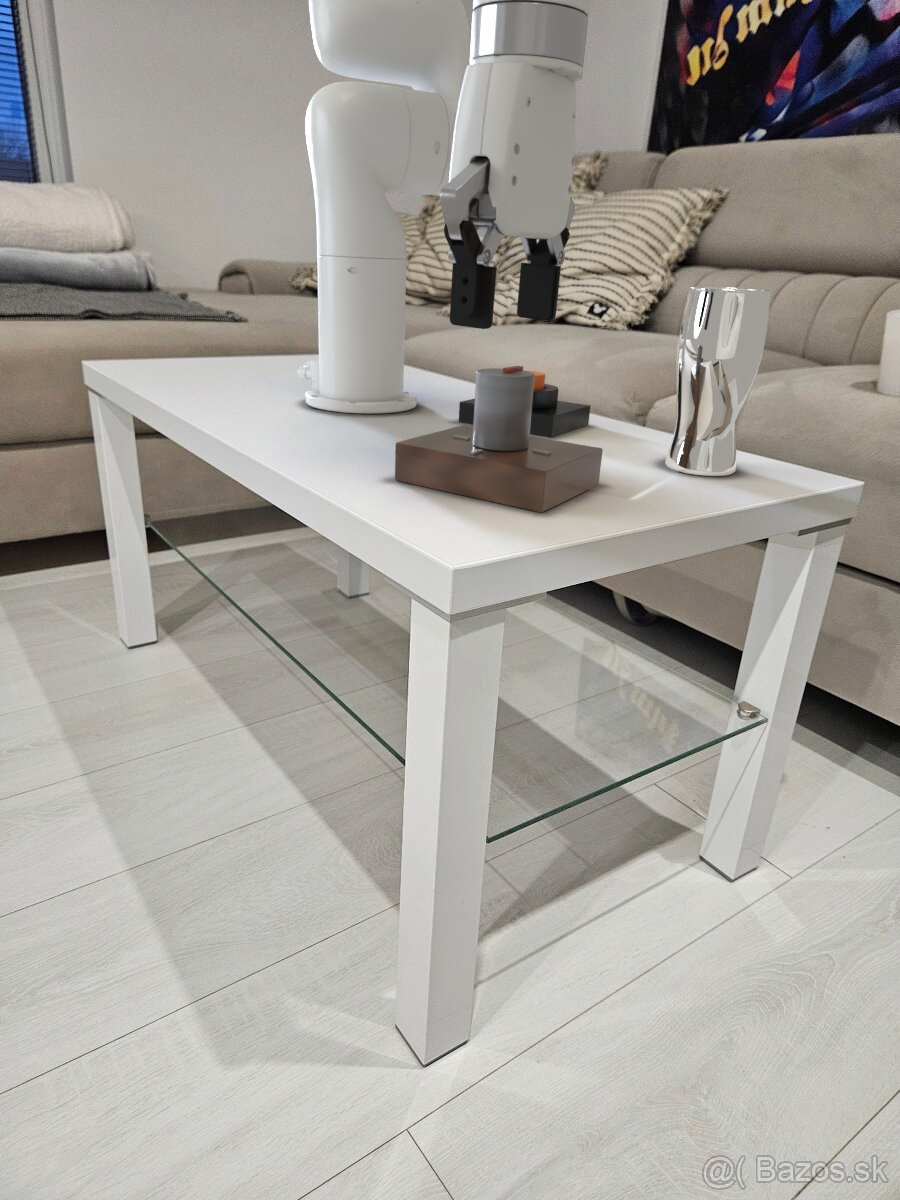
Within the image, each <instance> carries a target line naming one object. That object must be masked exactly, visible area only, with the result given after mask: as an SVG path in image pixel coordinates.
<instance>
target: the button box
mask: <svg viewBox="0 0 900 1200" xmlns="http://www.w3.org/2000/svg"><path fill="white" fill-rule="evenodd" d="M474 406H475V398H471V399H466V400H461V401H459V406H458V407H459V408H458V423H461V424H462V423H463V424H466V425H473V423H474ZM590 414H591V404H590V405H589V404H582V403H577V402H576V403H575V402H570V401H569V402H568V401H562V400H559V387H558V386H556V385H552V384H548V383H545V385H544V389H540V390H533V401H532V413H531V425H530V436H536V437H537V436H538V437H542V438H548V439H553V438H556V437H558V436H562V435H564V434H567V433H570V432H573V431H576V430H579V429H583V428H584V427H587V426H589V425H590V424H589V422H590Z"/></svg>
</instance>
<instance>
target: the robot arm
mask: <svg viewBox="0 0 900 1200" xmlns="http://www.w3.org/2000/svg"><path fill="white" fill-rule="evenodd" d="M590 5H591V0H472V15H471V16H472V17H471V33H470V31H469V30H470V29H469V21H468V16H467V12H466V8H465V6H464V4H463V1H462V0H308V7H309V8H308V9H309V18H310V26H311V27H310V28H311V34H312V41H313V46H314V50H315V53H316V56H317V58H318V60H319V62H320V64H321V65H322V66H323V67H324V68H325V69H326V70H327V71H329V72H331V73H333V74H336V75H339V76H343V77H347V78H352V79H356V80H364V81H370V82H371V83H370V82H362V81H350V80H349V81H338V82H332V83H330V84H329V83H328V84H327V85H325V86H323V87H321V88H320V89H318V90H317V91H316V92H315V93H314V94H313V96H312V97H311V99H310V101H309V103H308V106H307V109H306V114H305V138H306V147H307V153H308V158H309V159H308V160H309V164H310V172H311V177H312V185H313V193H314V204H315V205H314V206H315V224H316V260H317V263H316V265H317V266H316V267H317V270H316V271H317V321H318V323H317V325H318V326H317V327H318V359H314V360H306V361H304V362H303V365H299V366H298V367H297V369H296V376H297V377H298V378H299V379H305V380H311V384H312V385H311V389H309V390H308V391H306V392H305V403H306V405H308V406H310V407H312V408H315V409H319V410H323V411H329V412H335V413H346V414H365V415H367V414H370V415H371V414H375V415H376V414H393V413H402V412H405V411H410V410H413V409H414V408H416V406H417V403H418V402H417V395H415V394H414V393H413V392H410V391H407V390H404V381H405V379H404V378H405V377H404V376H405V339H406V338H405V337H406V335H405V334H406V329H405V328H406V292H407V291H406V290H407V239H406V234H405V230H404V227H403V225H402V223H401V220H400V219H399V217H398V215H397V213H396V211H395V210H394V208H393V207H392V205H391V204H390V202H389V200H388V198H387V197H386V194H394V193H396V194H397V193H400V194H409V195H410V194H411V195H425V196H439V202H440V207H441V212H442V216H443V222H444V226H443V233H444V237H445V239H446V241H447V244H448V246H449V248H448V254H447V256H448V261H449V263H450V264H452V270H451V271H452V272H451V286H450V287H451V289H450V307H449V322H450V324H451V325H453V326H458V327H465V328H466V327H467V328H473V329H480V330H481V329H482V330H488V329H491V328H492V326H493V321H494V307H495V295H496V282H497V269H498V267H497V266H492V265H491V263H492V262H493V259H494V257H495V255H496V252H497V251H498V249H499V246H500V244H501V242H502V240H503V238H504V236H505V237H515V238H520V240H521V244H522V248H523V251H524V255H525V259H526V261H527V262H520V270H519V271H520V272H519V281H518V282H519V283H518V294H517V304H516V305H517V306H516V315H517V316H518V317H519V318H521V319H529V320H537V321H546V322H550V321H554V320H555V319H556V317H557V308H558V299H559V287H560V280H561V270H562V266H563V264H564V262H565V258H566V253H565V247H566V246H567V243H568V241H569V240H570V236H571V234H570V233H571V232H570V228H571V224H572V221H573V218H574V216H575V211H576V204H575V202H574V200H573V198H572V196H571V195H572V185H573V175H574V162H575V161H574V160H575V142H576V141H575V140H576V117H577V115H576V111H577V110H576V109H577V83H576V82H579V81H581V80H582V79H583V71H584V62H585V52H586V45H587V44H586V43H587V34H588V24H589V14H590ZM470 34H471V35H470ZM373 82H377V83H373ZM380 83H386V84H394V85H399V86H405V87H410V88H404V87H403V88H402V87H399V86H394V85H386V84H380ZM411 88H412V89H411ZM480 237H483V238H482V240H481V238H480Z"/></svg>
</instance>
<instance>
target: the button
mask: <svg viewBox="0 0 900 1200" xmlns="http://www.w3.org/2000/svg"><path fill="white" fill-rule="evenodd" d="M527 371H528V372H532V373H534V374H535V377H534V389H533V390H540V389H544V385H545V384H546V373H545V372H542V371H536V370H527Z"/></svg>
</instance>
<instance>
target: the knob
mask: <svg viewBox="0 0 900 1200" xmlns="http://www.w3.org/2000/svg"><path fill="white" fill-rule="evenodd" d="M528 371H529V370H524V366H522V365H514V366H508V367H503V368H497V367H496V368H481V369H478V370H476V372H475V389H474V391H475V392H474V399H475V406H474V423H473V424H472V426H473V441H472V443H473V445H475V446H477V447H480V448H483V449H488V450H496V451H518V450H523V449H526V448H528V447H529V437H530V436H531V434H530V425H531V413H532V401H533V389H534V377H535V374H534V373H532V372H528Z"/></svg>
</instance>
